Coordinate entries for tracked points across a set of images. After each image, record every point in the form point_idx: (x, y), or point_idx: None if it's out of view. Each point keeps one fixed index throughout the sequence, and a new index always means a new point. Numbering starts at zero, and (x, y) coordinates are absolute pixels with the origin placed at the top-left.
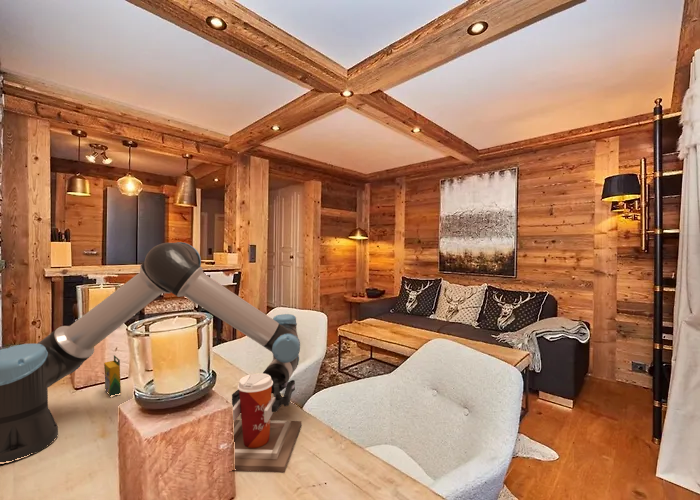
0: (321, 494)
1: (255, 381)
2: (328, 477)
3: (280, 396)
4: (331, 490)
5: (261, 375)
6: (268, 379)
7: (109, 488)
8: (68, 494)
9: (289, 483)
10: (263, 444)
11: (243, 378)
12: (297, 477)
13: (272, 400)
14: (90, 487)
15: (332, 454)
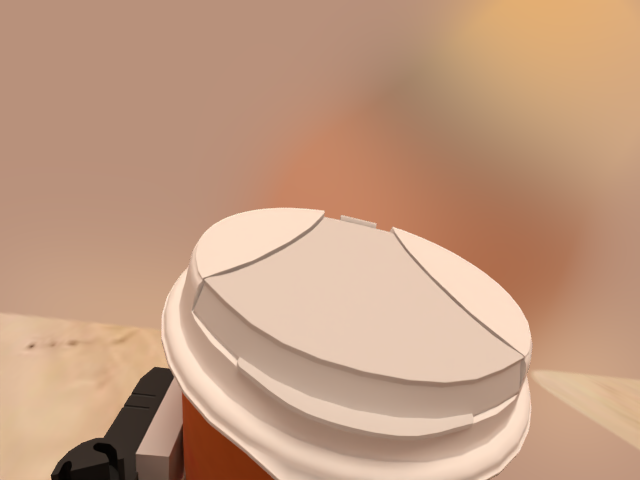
0: (68, 320)
1: (332, 232)
2: (5, 362)
3: (68, 473)
4: (33, 325)
5: (332, 302)
6: (221, 231)
7: (538, 380)
8: (584, 374)
9: (141, 355)
10: None
11: (481, 284)
12: (109, 371)
13: (174, 393)
14: (576, 386)
15: None
